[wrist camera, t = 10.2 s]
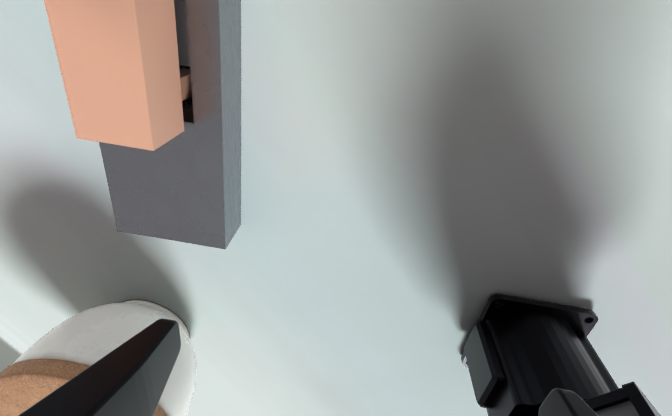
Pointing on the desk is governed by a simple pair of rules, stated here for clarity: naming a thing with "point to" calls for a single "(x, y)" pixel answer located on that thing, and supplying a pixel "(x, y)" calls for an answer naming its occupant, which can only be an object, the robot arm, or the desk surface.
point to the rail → (190, 141)
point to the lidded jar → (94, 356)
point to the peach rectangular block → (121, 69)
